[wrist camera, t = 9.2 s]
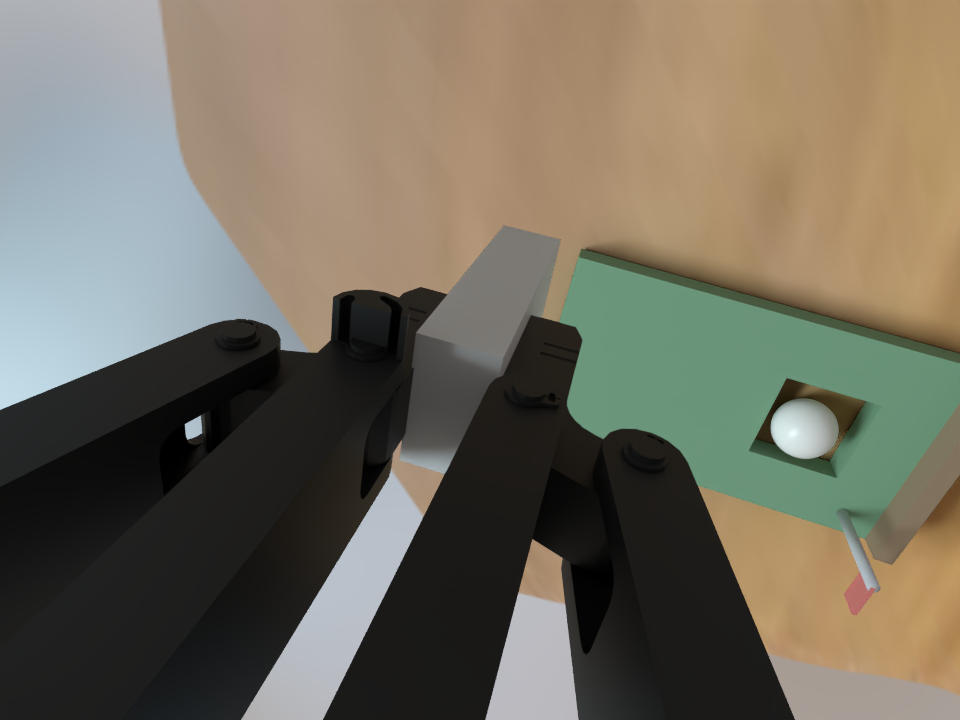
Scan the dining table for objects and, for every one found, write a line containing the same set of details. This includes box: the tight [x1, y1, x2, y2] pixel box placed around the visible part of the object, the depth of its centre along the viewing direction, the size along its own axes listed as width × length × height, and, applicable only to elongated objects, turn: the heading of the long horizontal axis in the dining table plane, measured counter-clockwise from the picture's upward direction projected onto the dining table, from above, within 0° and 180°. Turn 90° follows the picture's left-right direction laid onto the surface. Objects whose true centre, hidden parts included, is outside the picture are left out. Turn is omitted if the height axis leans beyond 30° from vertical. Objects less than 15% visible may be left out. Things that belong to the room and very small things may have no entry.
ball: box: [771, 398, 839, 459], centre depth 41 cm, size 4×4×4 cm
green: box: [559, 249, 960, 615], centre depth 39 cm, size 15×26×9 cm, turn 78°
